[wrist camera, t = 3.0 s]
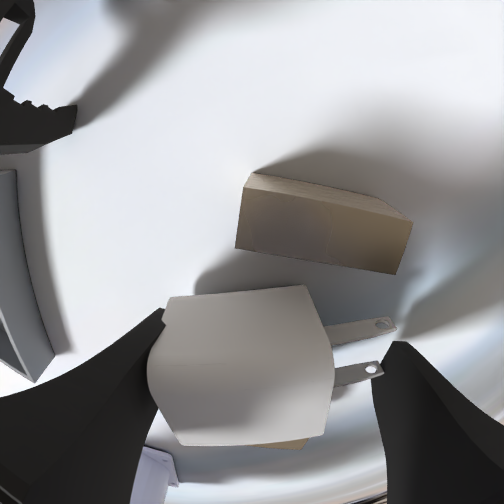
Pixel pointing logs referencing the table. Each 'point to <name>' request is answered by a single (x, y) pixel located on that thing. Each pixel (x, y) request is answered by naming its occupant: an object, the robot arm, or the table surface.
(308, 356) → the usb wall charger
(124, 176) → the table surface
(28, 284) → the parts tray
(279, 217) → the blocks
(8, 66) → the gun
